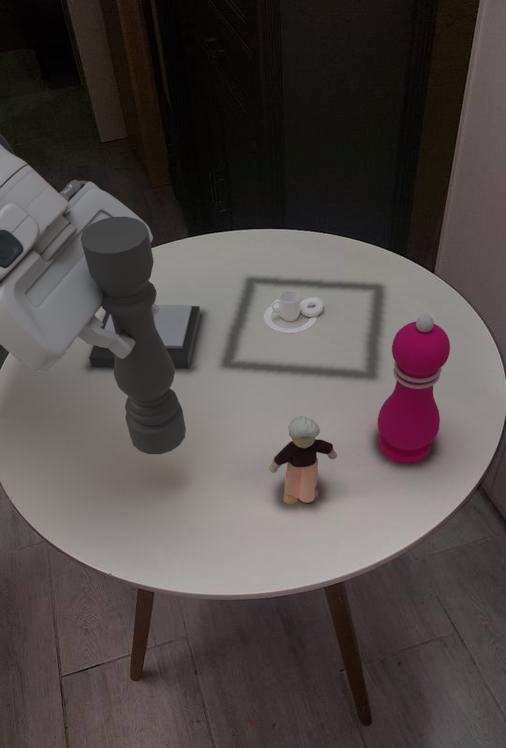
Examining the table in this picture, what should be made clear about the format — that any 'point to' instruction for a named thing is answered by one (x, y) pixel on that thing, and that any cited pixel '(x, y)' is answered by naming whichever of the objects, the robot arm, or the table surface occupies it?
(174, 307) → the scale
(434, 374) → the pepper mill
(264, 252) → the table surface
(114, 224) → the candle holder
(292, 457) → the grandmother figurine
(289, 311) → the teacup and saucer
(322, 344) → the table surface
